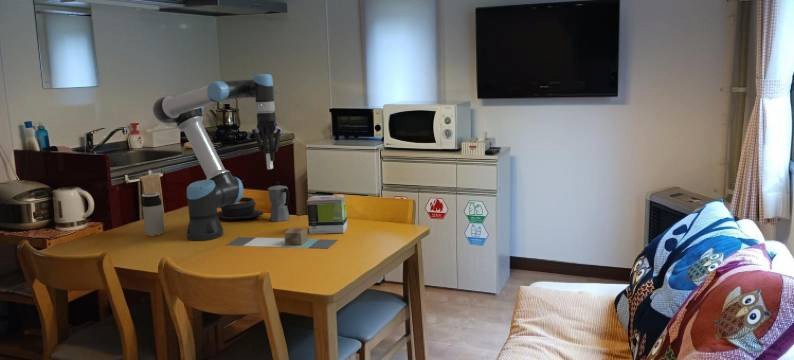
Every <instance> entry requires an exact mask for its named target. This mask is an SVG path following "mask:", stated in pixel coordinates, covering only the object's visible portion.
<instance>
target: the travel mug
mask: <svg viewBox="0 0 794 360" xmlns="http://www.w3.org/2000/svg"><path fill="white" fill-rule="evenodd" d="M160 194H161V193H160V192H146V193H143V194H141V197H142V201H141V207H142V215H143V222H144V223H143V225H144V233H145V236H147V235H159V234H162V235H164V234H165V233H164V232H166V229H165V223H164V222H165V221H164V214H163V204H162V203H163V202H162V199H161V198H160ZM163 233H164V234H163ZM159 236H160V235H159Z"/></svg>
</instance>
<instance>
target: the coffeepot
mask: <svg viewBox="0 0 794 360" xmlns="http://www.w3.org/2000/svg"><path fill="white" fill-rule="evenodd" d="M267 192H268V196H269V201H270V203H271V207H270V217H269V220H270V221H271V222H272V223H273V222H274V223H281V222H286V221H290V220H291V218H290V214H289V209H288V205H289V199H290V191H289V187H287V186H286V185H280V181H275V185H273V186H269V187H268V188H267Z"/></svg>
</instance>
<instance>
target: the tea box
mask: <svg viewBox="0 0 794 360" xmlns="http://www.w3.org/2000/svg"><path fill="white" fill-rule="evenodd" d="M346 202H347V201H346V195H345V194H337V195H312V196H311V197H309V198H308V199H307V200H306V208H307V209H306V210H307V221H308V232H309V233H308V234H309V235H310V234H344V233H345V231H346V230H347V229H348V218H347V217H348V216H347V204H346Z"/></svg>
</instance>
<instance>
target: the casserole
mask: <svg viewBox="0 0 794 360" xmlns="http://www.w3.org/2000/svg"><path fill="white" fill-rule="evenodd" d="M256 204H257V202H255V200H254V198H252V197H247V196H246V197H243V196H242V198H241V199H240V200H239V201H238V202H236V203H234V204H232V205H227V206H224V207H220V208H219V209H220V211H217V213H218V218H221V219H224V220H225V219H226V220H229V221H242V219H243V220H247V219H252V218H258V217H260V216H263V215H264V214H265V212H264V211H260V210H257V209H255V208H256V207H255V206H256Z"/></svg>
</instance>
